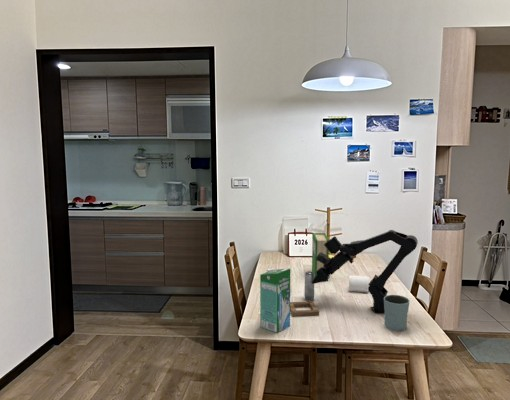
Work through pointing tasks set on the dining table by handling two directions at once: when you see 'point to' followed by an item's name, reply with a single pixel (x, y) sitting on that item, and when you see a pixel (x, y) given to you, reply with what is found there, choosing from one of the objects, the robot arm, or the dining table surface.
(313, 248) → the hardback book
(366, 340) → the dining table surface
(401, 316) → the grey-green cup
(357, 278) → the mug
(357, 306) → the dining table surface
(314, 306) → the holder
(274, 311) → the milk carton
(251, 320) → the dining table surface
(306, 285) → the grey brushed cylinder
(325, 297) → the dining table surface
